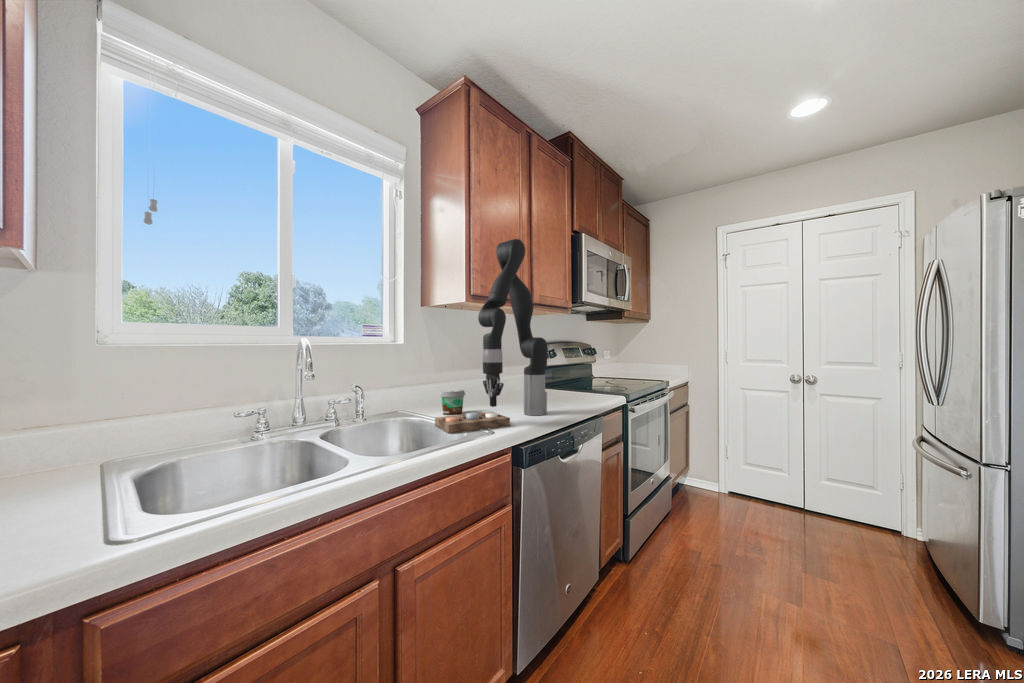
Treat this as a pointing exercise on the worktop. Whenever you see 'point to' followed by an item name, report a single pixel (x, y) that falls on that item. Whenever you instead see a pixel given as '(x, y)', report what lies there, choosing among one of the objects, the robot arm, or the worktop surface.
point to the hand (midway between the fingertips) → (493, 406)
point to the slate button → (472, 416)
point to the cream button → (491, 415)
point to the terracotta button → (451, 419)
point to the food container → (452, 402)
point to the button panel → (471, 423)
